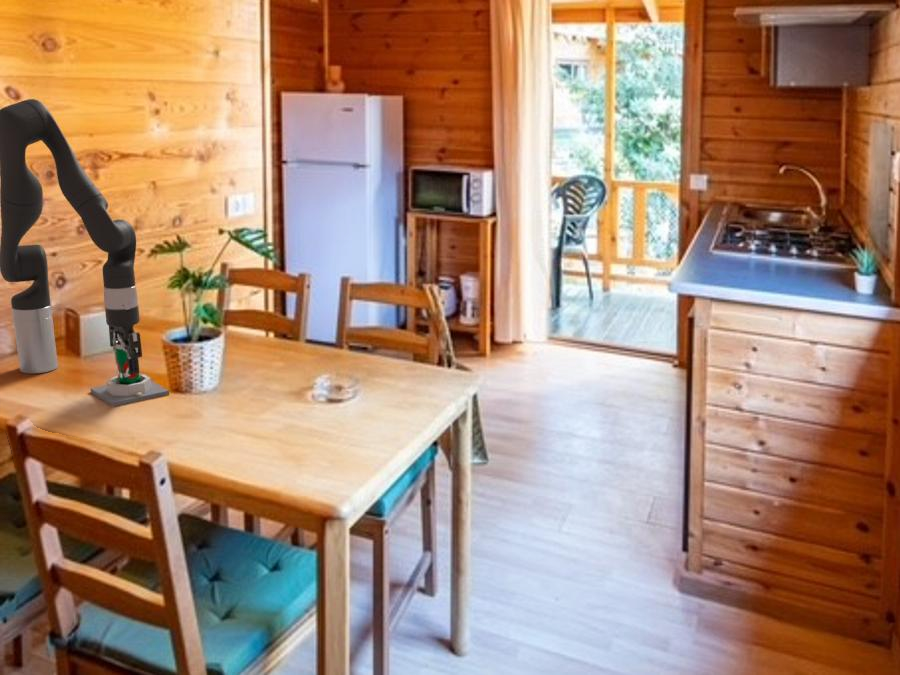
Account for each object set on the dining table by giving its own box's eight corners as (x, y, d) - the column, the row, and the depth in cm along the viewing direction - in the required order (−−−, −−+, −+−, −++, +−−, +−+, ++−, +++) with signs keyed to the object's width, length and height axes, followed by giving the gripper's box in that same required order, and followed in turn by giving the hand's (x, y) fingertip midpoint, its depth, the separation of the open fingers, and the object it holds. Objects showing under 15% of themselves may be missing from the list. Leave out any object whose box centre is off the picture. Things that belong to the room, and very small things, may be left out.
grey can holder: (90, 392, 211) (89, 378, 210) (146, 380, 220) (145, 367, 219) (111, 406, 201) (110, 392, 200) (169, 394, 210) (168, 381, 209)
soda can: (145, 387, 212) (141, 340, 208) (133, 393, 207) (128, 346, 204) (127, 385, 213) (122, 339, 210) (114, 392, 208) (110, 344, 205)
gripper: (95, 301, 207) (101, 365, 212) (116, 312, 197) (123, 379, 201) (125, 297, 212) (131, 359, 216) (148, 307, 202) (154, 373, 206)
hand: (127, 369), depth 209 cm, fingers open, 8 cm apart
